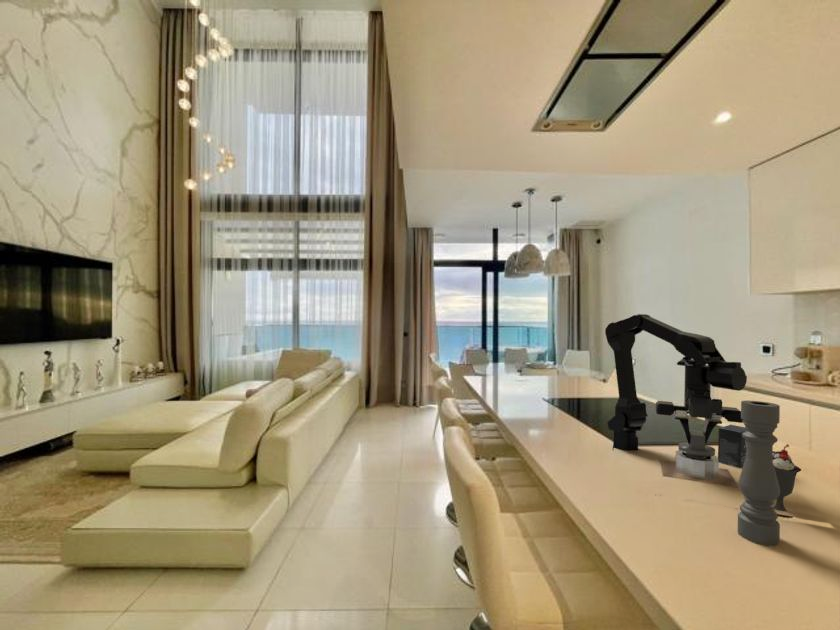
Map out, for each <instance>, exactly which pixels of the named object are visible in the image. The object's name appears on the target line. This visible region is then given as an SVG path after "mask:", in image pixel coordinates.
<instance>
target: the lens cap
mask: <svg viewBox="0 0 840 630" xmlns="http://www.w3.org/2000/svg"><path fill="white" fill-rule="evenodd" d="M689 432H690V444H688V441H686V442H685V441H683V442H679V443H678V446H677V447H678V450H680V451H682V452H684V453H686V456H687V457H691V458H695V459H707V456H715V455H716V449H715V448H714V447H712V446H710V445H707V444H706V445H705V435H704V434H703V431H702V430H697V429H689Z"/></svg>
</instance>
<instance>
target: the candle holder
mask: <svg viewBox="0 0 840 630" xmlns="http://www.w3.org/2000/svg"><path fill="white" fill-rule="evenodd" d="M780 407H781V406H780V405H779V404H777V403H773V402H768V401H767V402H766V401H760V400H741V402H740V411H741V418H742V419H743V423H742V424H744V427H745V428H746V429H747V431H746V432H744V433H742V436H743V438H745V440H746V441H747V446H746V459H745V462H744V465H743V467H742V470H741V473H740V475H739V479H738V486H739V488H738V489H740V492H741V494H742V495H743V499H744V500H745V501H744V502H742V504H741V505H739V511H740V512H739V513H738V514H737V533H738V535H739V536H740V537H741V538H743V539H745V540H748V541H750V542H752V543H755V544H758V545H763V546H770V545H771V546H773V547H774V546H779V544H780V542H781V541H780V538H781V537H780V536H781V535H780V534H781V525H780V523H779V521H778V519H779V516H778V515H777V514H778V513H777V512H776V510H775V509H773V507H774V506H775V503H774V502H776V499H777V498H778V497H779V494H780V487H779V484H778V480H777V476H776V473H775V469H774V465H773V461H772V458H773V451H774V450H773V446H774V445H775V444H776V443H777V442H778V440H779V439H778V438H777V437H776V435H774V434H773V433H774V432H775V431H776V430H777V429H778V425H779V424H780V416H781V415H780V412H781V411H780Z"/></svg>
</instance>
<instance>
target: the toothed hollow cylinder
mask: <svg viewBox="0 0 840 630" xmlns="http://www.w3.org/2000/svg"><path fill="white" fill-rule="evenodd" d="M674 457H675V461H674V462H675V469H676V471H677V472H679V473H681V474H683V475H686V476H689V477H693V478H699V479H716V478H718V468H720V467H719V464H720V463H719V459H718V456H715V455H714V456H707V459H695V458H691V457H687V456H686V453H684V452H682V451H680V450H679V449H678V450H675V456H674Z"/></svg>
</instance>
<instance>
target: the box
mask: <svg viewBox="0 0 840 630" xmlns="http://www.w3.org/2000/svg"><path fill="white" fill-rule="evenodd" d="M746 431H747V429H746V427H745V426H739V425H736V424H735V425H734V424H728V425H725V426H721V427H720V426H719V428H718V438H717V439H718V441H717V442H718V443H717V447H718V448H717V458H718V459H719V464H720V463H721V464H724V465H727V466H730V467H734V468H738V469H741V468H742V469H743V465H744V462H745V459H746V446H747V441H746V440H745V438H743V436H742V433H744V432H746Z"/></svg>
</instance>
